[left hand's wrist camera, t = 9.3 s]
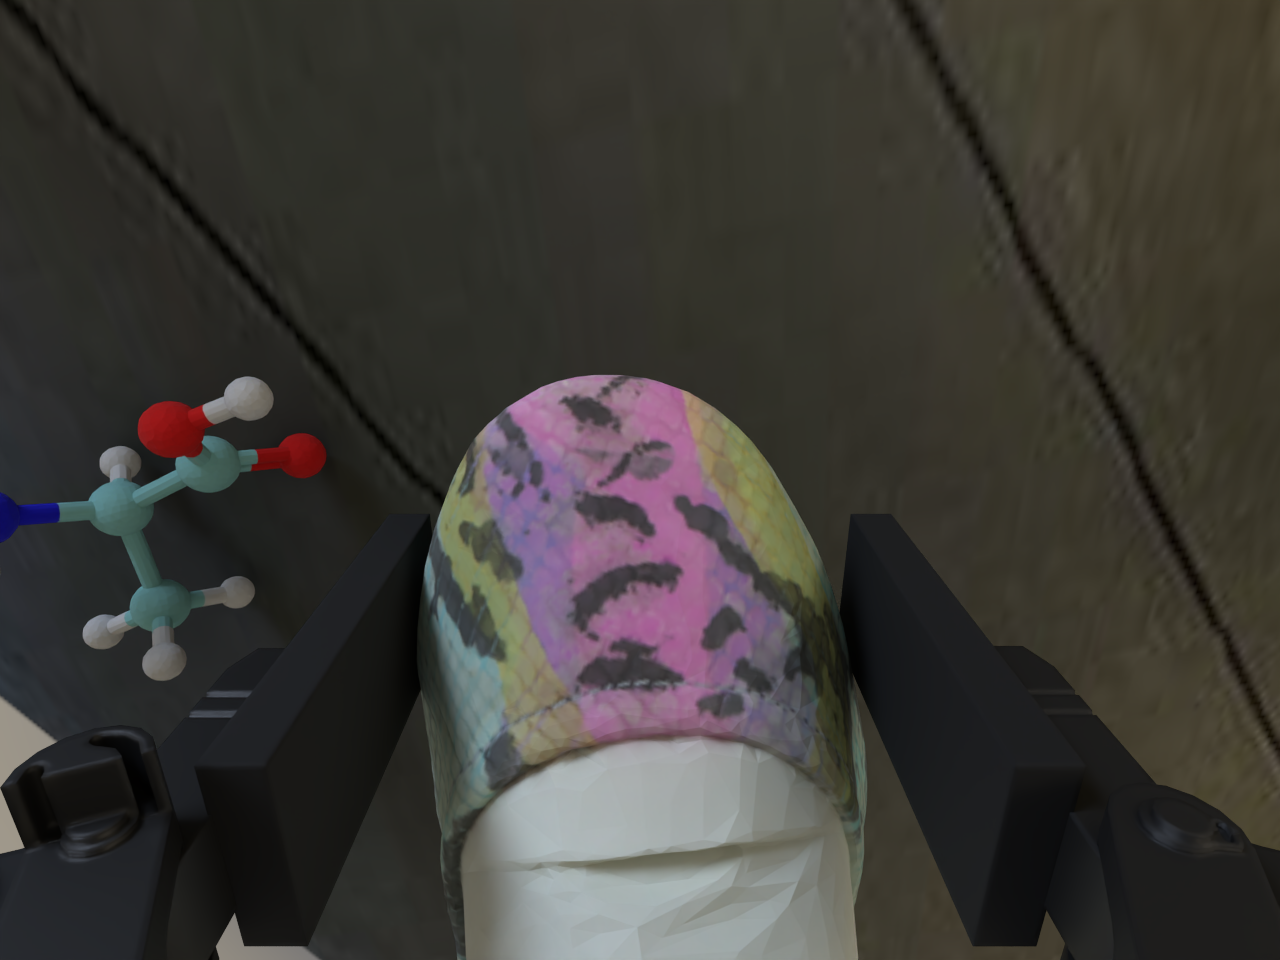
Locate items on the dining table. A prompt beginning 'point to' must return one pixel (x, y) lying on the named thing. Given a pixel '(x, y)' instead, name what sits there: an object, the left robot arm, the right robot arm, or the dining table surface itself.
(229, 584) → the molecular model
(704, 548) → the ballet flat
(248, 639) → the dining table surface
